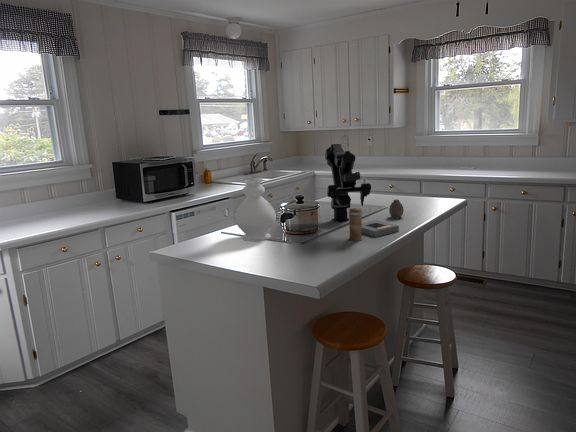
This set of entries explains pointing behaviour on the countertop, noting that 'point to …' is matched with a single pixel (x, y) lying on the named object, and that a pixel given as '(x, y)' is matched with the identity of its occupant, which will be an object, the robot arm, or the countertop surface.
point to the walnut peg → (355, 224)
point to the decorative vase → (255, 213)
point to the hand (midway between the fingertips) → (351, 206)
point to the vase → (396, 209)
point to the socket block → (378, 228)
